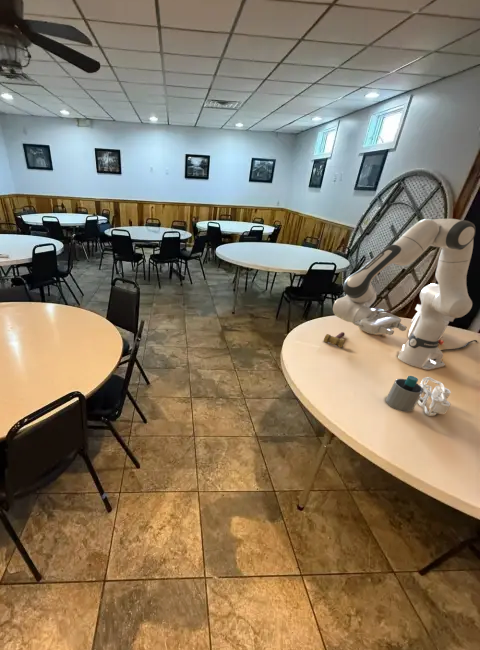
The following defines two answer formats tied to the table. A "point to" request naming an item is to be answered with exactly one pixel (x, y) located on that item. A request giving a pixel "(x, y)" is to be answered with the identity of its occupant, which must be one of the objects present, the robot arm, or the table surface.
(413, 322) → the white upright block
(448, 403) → the white cage
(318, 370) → the table surface
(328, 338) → the gavel
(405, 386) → the marker pen
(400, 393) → the pen pot
